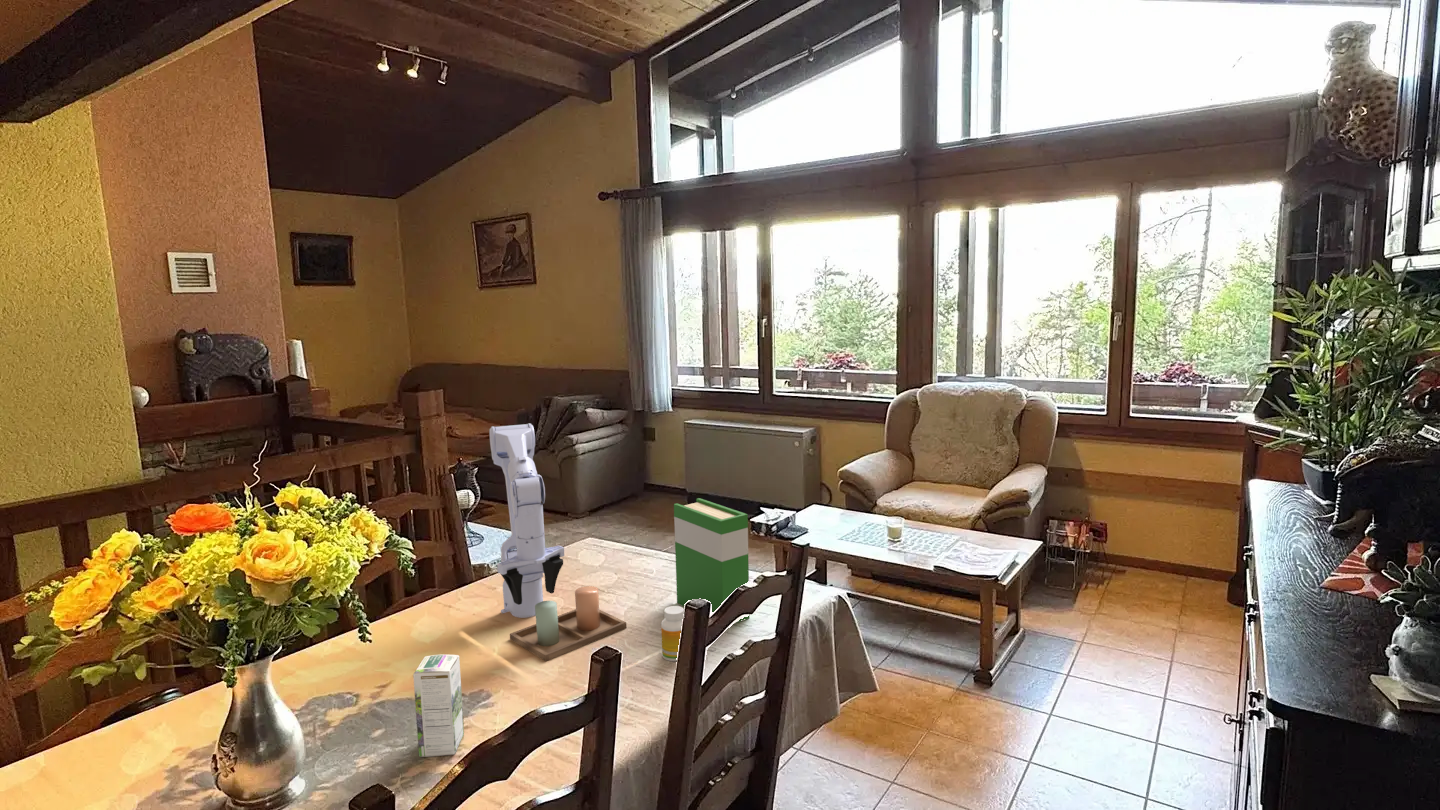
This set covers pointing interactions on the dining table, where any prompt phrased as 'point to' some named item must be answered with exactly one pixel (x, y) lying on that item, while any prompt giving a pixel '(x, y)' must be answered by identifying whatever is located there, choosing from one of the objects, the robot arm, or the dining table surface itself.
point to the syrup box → (438, 705)
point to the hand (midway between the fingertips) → (534, 597)
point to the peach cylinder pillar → (587, 608)
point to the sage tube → (547, 623)
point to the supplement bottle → (671, 631)
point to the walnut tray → (567, 635)
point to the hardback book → (710, 551)
